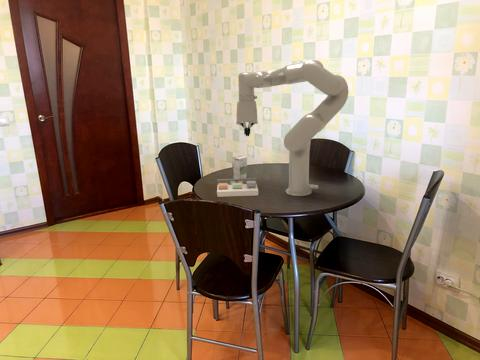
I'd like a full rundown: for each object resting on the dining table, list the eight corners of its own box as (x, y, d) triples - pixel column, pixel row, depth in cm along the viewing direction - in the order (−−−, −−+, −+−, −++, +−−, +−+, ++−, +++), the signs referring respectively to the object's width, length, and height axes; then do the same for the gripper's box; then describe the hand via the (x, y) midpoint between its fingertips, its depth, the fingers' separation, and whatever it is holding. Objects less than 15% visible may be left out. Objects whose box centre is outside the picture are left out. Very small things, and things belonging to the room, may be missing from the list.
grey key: (255, 183, 190) (255, 180, 190) (256, 186, 186) (256, 183, 185) (246, 183, 190) (246, 180, 189) (246, 186, 185) (246, 183, 185)
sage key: (241, 185, 190) (241, 182, 190) (242, 187, 186) (241, 185, 185) (232, 185, 190) (232, 182, 189) (232, 188, 185) (232, 185, 185)
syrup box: (240, 180, 210) (239, 155, 206) (247, 182, 206) (247, 156, 202) (232, 182, 206) (231, 156, 202) (240, 184, 202) (239, 158, 198)
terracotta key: (227, 185, 190) (227, 183, 189) (227, 188, 185) (227, 185, 185) (218, 186, 190) (218, 183, 189) (218, 188, 185) (218, 185, 185)
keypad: (256, 187, 196) (255, 178, 195) (258, 195, 183) (258, 185, 182) (217, 188, 196) (217, 179, 195) (217, 196, 182) (216, 186, 181)
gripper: (261, 97, 188) (261, 134, 193) (231, 98, 188) (232, 135, 193) (262, 98, 181) (262, 136, 186) (231, 99, 181) (232, 137, 185)
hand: (247, 135), depth 189 cm, fingers closed
